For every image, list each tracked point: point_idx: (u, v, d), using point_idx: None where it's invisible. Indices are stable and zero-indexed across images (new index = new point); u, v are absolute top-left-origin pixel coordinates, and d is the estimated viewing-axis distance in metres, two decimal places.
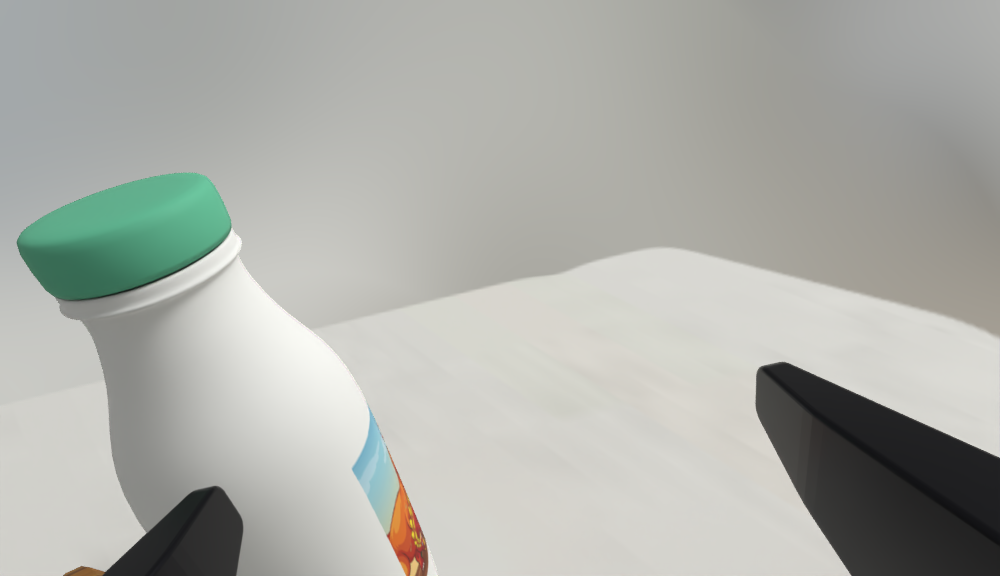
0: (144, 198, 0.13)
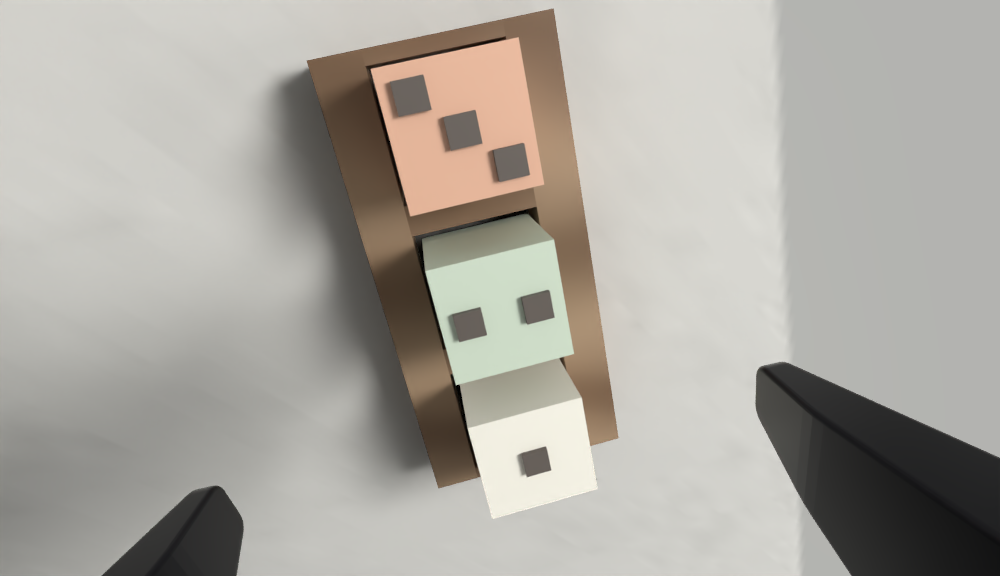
0: None
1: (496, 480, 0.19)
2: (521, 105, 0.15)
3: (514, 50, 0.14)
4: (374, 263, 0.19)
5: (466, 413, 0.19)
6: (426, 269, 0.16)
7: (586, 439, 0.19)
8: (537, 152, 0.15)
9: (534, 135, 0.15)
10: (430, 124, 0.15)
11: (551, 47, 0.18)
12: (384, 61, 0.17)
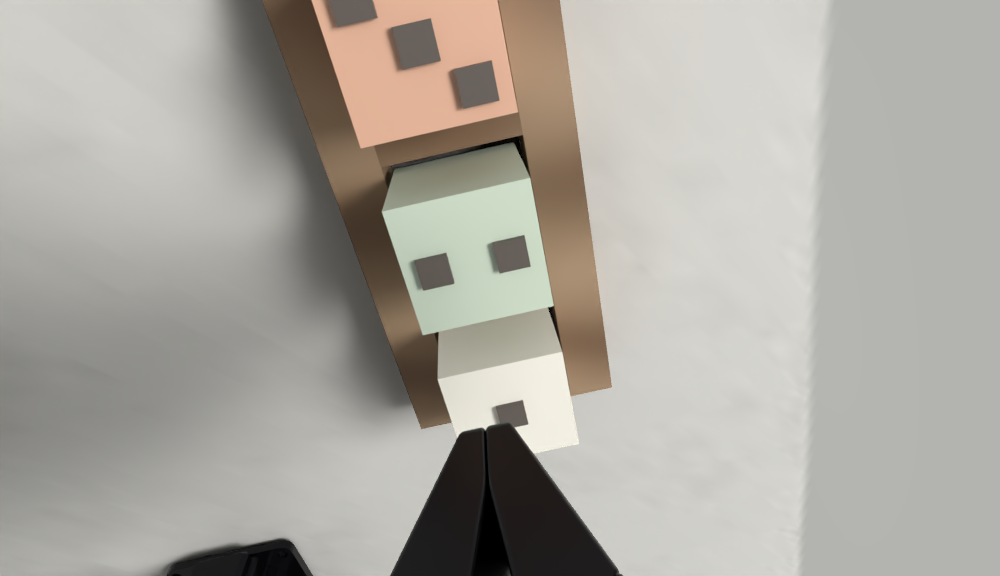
0: None
1: None
2: (488, 12, 0.12)
3: None
4: (341, 196, 0.17)
5: (439, 362, 0.18)
6: (384, 209, 0.14)
7: (567, 394, 0.18)
8: (509, 72, 0.13)
9: (505, 51, 0.13)
10: (377, 36, 0.12)
11: None
12: None
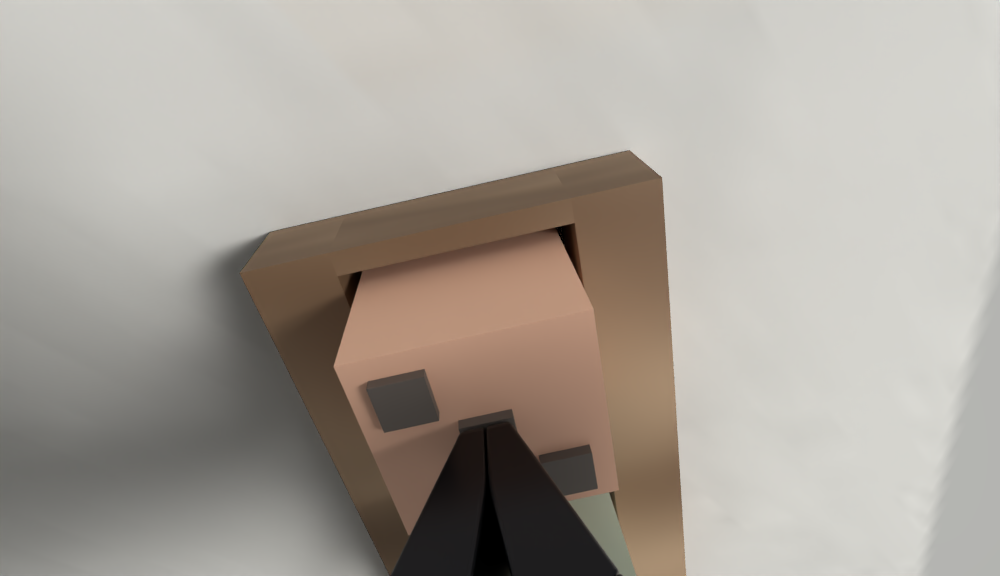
0: None
1: None
2: (590, 399, 0.09)
3: (584, 328, 0.08)
4: (366, 511, 0.13)
5: None
6: None
7: None
8: (611, 454, 0.10)
9: (609, 435, 0.09)
10: (437, 430, 0.09)
11: (651, 235, 0.10)
12: (369, 266, 0.10)
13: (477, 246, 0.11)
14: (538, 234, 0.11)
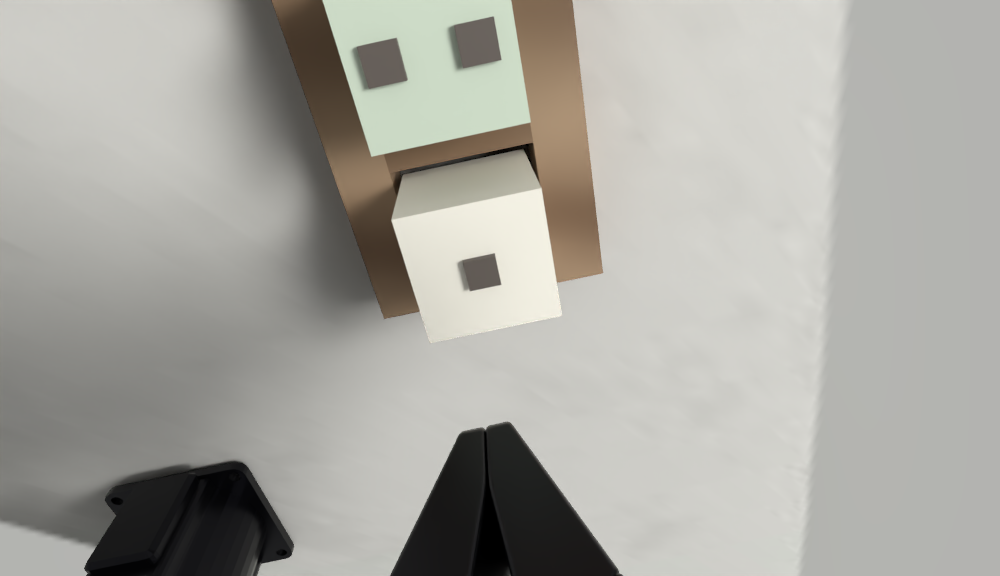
0: None
1: (432, 293, 0.15)
2: None
3: None
4: (280, 4, 0.15)
5: (395, 207, 0.15)
6: None
7: (547, 248, 0.15)
8: None
9: None
10: None
11: None
12: None
13: None
14: None
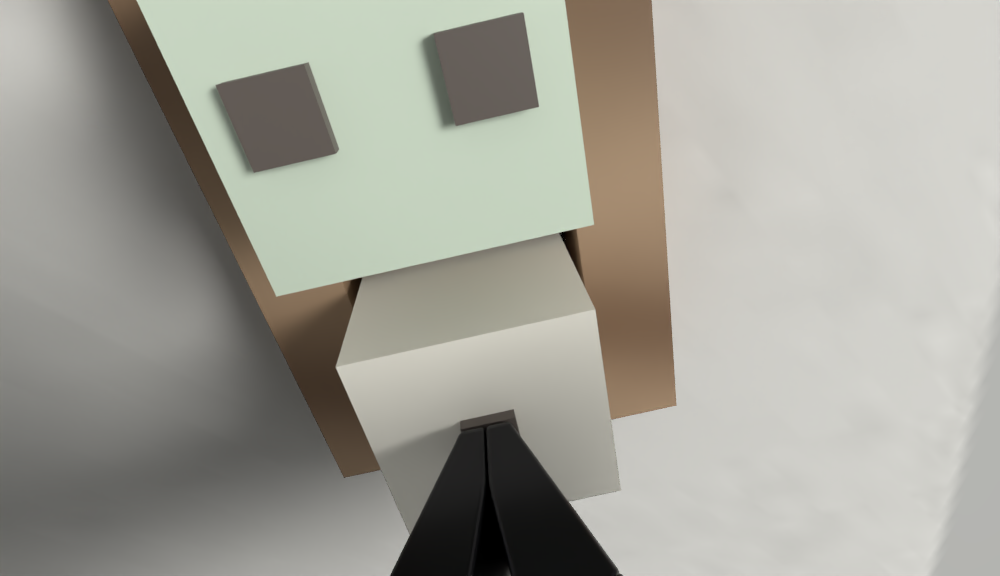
0: None
1: (412, 469, 0.09)
2: None
3: None
4: None
5: (348, 334, 0.09)
6: None
7: (602, 398, 0.09)
8: None
9: None
10: None
11: None
12: None
13: None
14: None
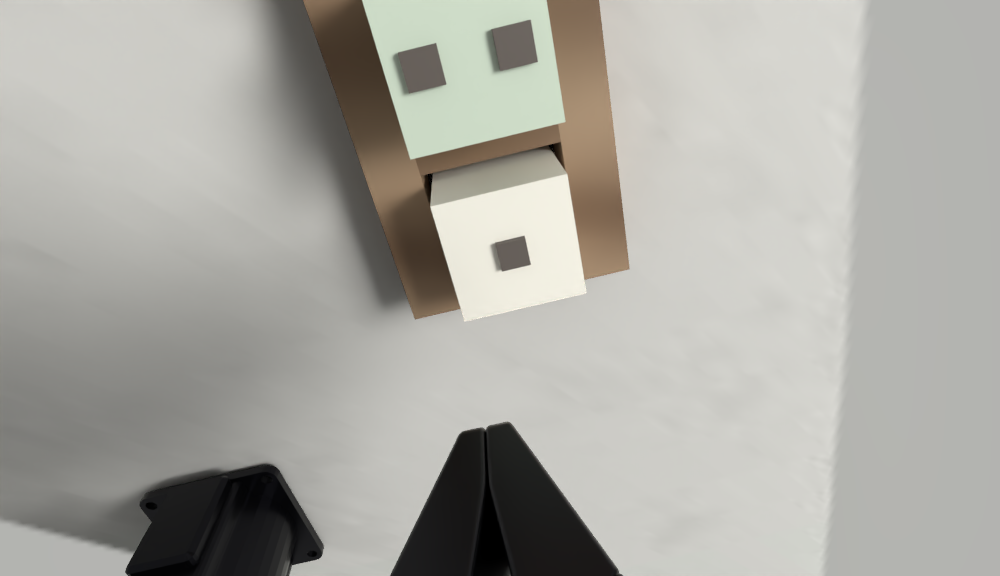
0: None
1: (467, 274, 0.17)
2: None
3: None
4: (314, 13, 0.15)
5: (432, 196, 0.16)
6: None
7: (573, 230, 0.16)
8: None
9: None
10: None
11: None
12: None
13: None
14: None
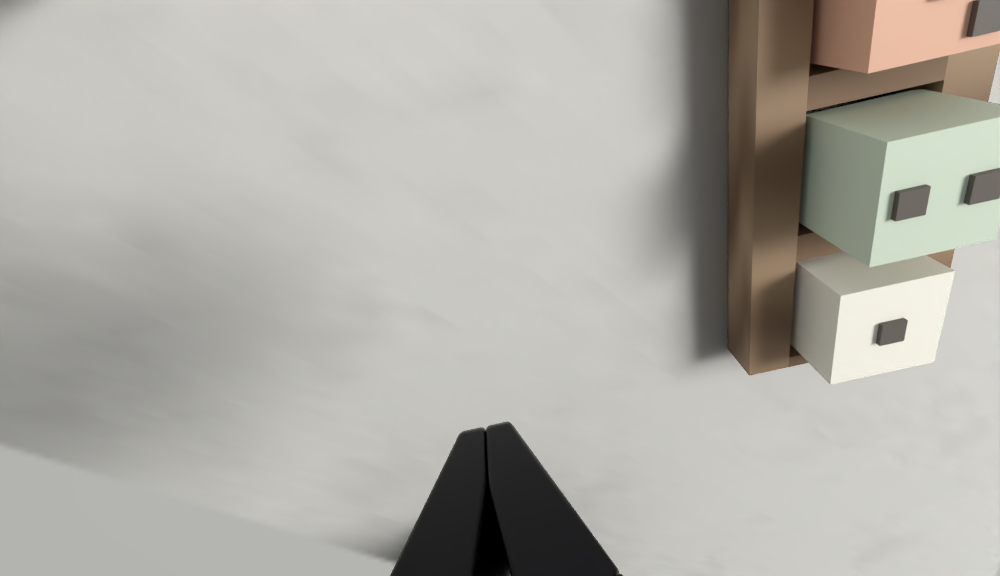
0: None
1: (847, 347, 0.20)
2: None
3: None
4: (760, 140, 0.18)
5: (826, 283, 0.20)
6: (885, 140, 0.15)
7: (942, 313, 0.20)
8: None
9: None
10: None
11: None
12: None
13: None
14: None
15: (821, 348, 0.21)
